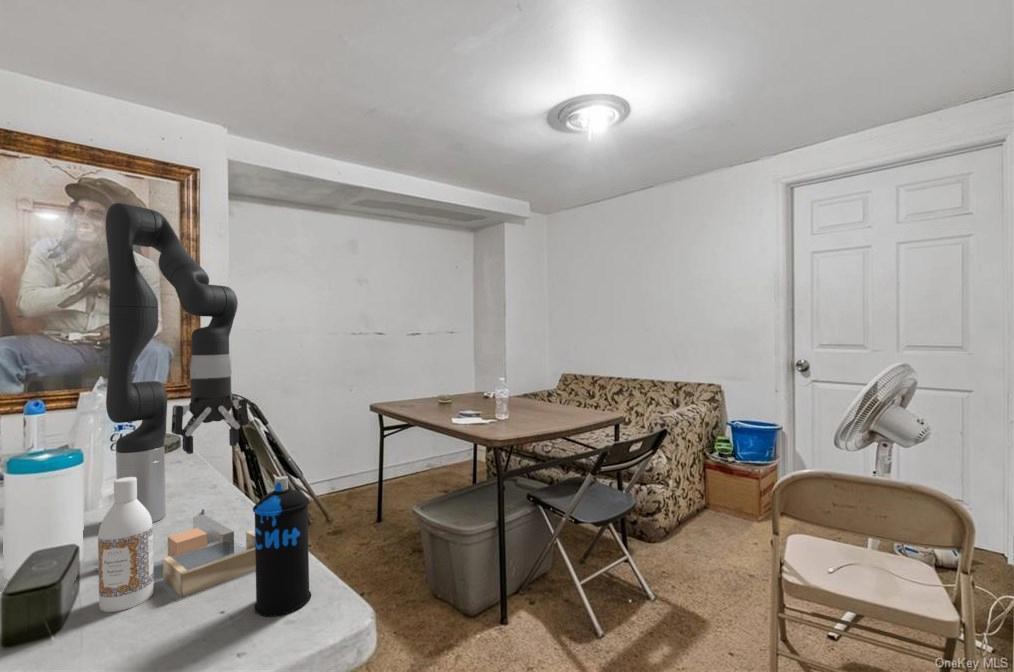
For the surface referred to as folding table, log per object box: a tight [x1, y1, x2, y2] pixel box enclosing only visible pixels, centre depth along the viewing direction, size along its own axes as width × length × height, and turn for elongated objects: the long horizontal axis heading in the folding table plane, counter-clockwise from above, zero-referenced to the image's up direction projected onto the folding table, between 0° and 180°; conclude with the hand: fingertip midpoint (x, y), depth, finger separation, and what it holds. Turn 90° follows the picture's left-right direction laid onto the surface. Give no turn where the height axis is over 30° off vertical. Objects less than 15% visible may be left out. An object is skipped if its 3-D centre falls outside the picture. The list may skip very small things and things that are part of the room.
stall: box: [162, 530, 256, 598], centre depth 86 cm, size 10×15×4 cm, turn 141°
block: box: [167, 528, 207, 558], centre depth 91 cm, size 5×5×5 cm
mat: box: [153, 541, 256, 603], centre depth 89 cm, size 20×17×1 cm
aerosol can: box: [252, 475, 312, 617], centre depth 76 cm, size 8×8×20 cm
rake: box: [172, 513, 235, 570], centre depth 94 cm, size 16×10×4 cm, turn 51°
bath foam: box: [97, 477, 155, 613], centre depth 77 cm, size 7×7×20 cm
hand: (211, 449), depth 103 cm, fingers open, 8 cm apart
